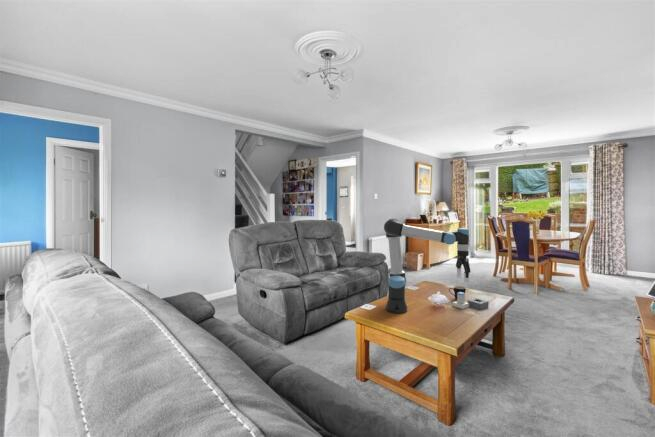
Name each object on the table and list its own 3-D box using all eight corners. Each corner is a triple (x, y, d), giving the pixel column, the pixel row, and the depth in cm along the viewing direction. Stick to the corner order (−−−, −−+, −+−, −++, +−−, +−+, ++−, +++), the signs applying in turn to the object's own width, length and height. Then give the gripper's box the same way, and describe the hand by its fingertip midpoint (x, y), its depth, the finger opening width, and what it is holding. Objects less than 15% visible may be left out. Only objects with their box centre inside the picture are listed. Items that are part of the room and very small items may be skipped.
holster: (452, 306, 229) (452, 302, 229) (459, 304, 234) (459, 300, 234) (462, 310, 223) (462, 305, 223) (469, 307, 227) (469, 303, 227)
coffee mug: (467, 300, 244) (468, 287, 243) (461, 302, 239) (461, 289, 238) (454, 296, 253) (454, 284, 253) (447, 298, 248) (448, 286, 248)
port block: (467, 306, 229) (467, 299, 229) (475, 304, 235) (475, 297, 234) (480, 310, 221) (480, 303, 221) (488, 308, 226) (488, 301, 226)
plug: (457, 306, 229) (457, 292, 228) (460, 305, 231) (460, 291, 230) (461, 307, 226) (461, 293, 225) (464, 306, 228) (464, 293, 227)
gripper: (476, 252, 209) (475, 284, 210) (461, 247, 234) (461, 275, 235) (464, 253, 209) (464, 284, 211) (451, 247, 234) (451, 275, 236)
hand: (462, 279), depth 223 cm, fingers open, 13 cm apart
